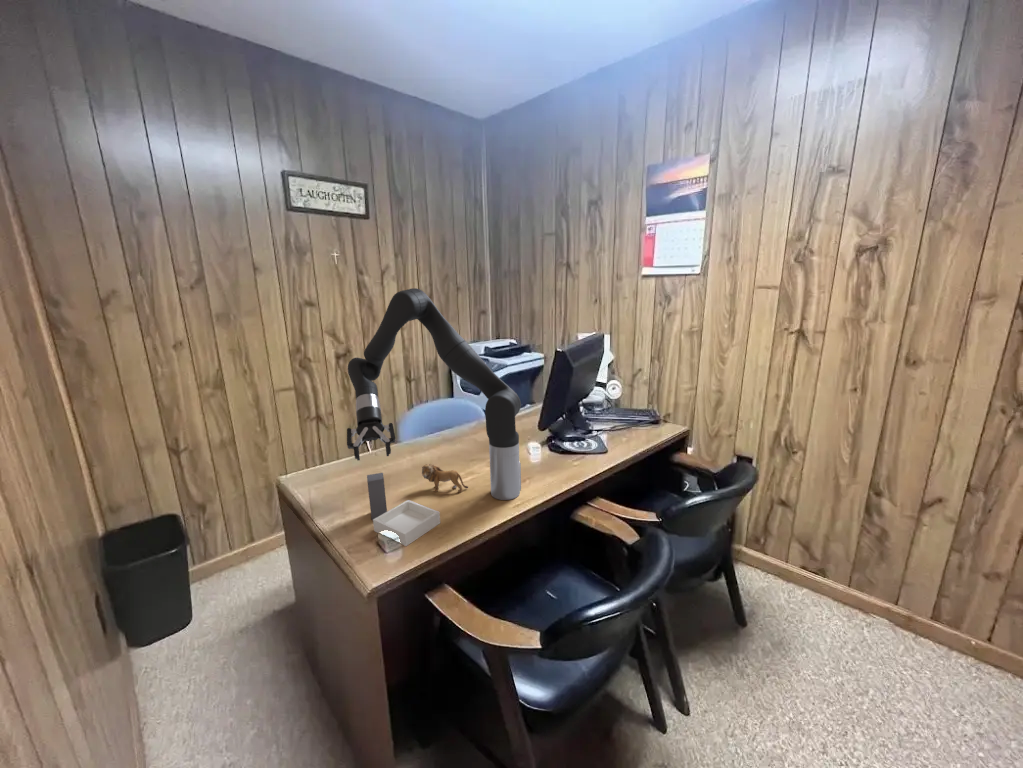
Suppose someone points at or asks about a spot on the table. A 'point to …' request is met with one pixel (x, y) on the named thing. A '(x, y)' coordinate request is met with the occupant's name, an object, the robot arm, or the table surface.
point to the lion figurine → (441, 476)
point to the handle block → (376, 494)
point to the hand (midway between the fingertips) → (373, 457)
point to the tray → (407, 521)
